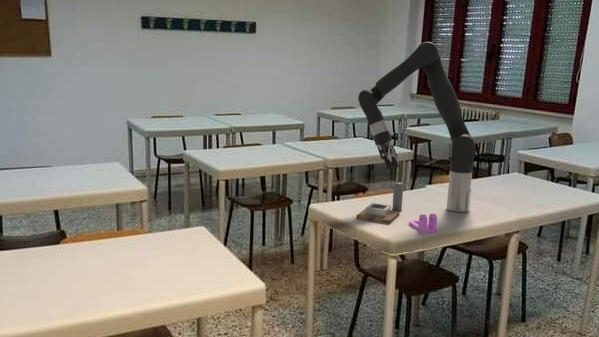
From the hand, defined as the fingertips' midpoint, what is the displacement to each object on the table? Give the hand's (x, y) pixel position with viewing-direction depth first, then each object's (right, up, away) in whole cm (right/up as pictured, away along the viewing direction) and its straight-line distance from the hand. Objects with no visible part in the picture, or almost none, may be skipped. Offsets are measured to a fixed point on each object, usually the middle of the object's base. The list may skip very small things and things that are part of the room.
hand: (393, 168), depth 233 cm
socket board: (-8, -20, -11) cm, 24 cm away
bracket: (+7, -24, -23) cm, 34 cm away
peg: (+1, -18, 0) cm, 18 cm away
